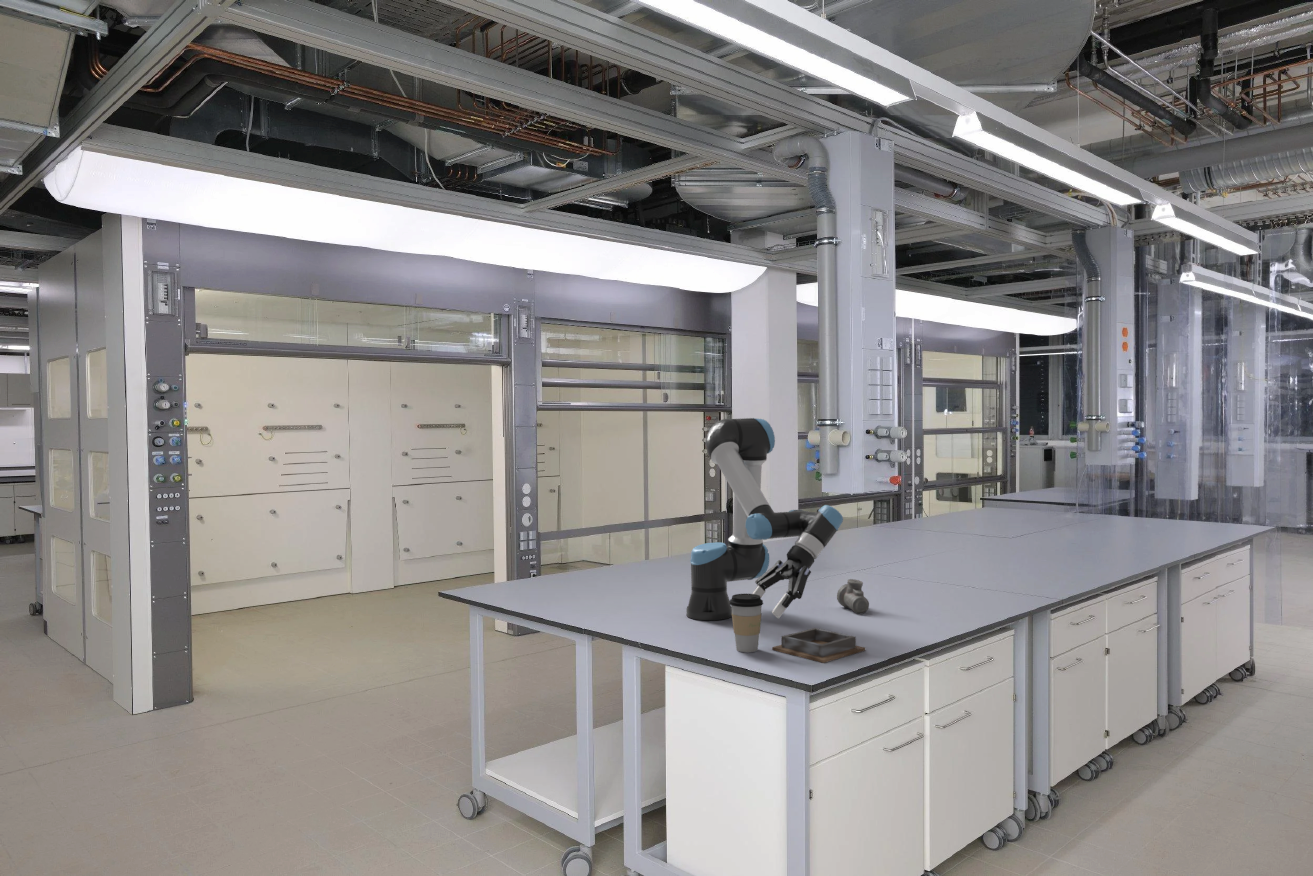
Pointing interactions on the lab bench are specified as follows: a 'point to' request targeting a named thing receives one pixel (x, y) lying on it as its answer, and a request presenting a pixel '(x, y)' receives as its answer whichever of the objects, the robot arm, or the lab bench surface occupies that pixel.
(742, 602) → the coffee cup
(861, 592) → the pipe fitting
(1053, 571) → the lab bench surface
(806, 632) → the square rimmed tray
